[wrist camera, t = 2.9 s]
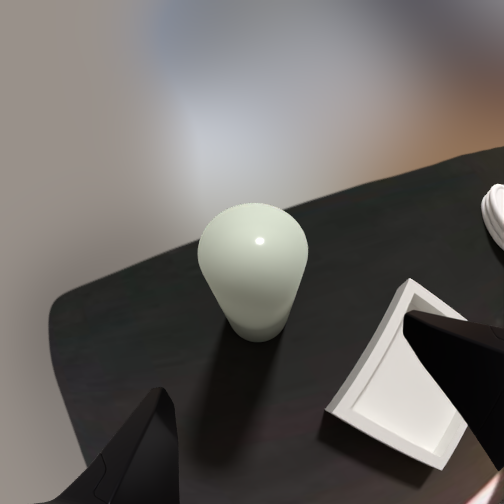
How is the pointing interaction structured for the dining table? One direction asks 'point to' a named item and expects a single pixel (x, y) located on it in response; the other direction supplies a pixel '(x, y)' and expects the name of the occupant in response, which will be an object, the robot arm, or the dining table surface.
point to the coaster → (494, 213)
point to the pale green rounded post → (254, 267)
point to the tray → (401, 388)
